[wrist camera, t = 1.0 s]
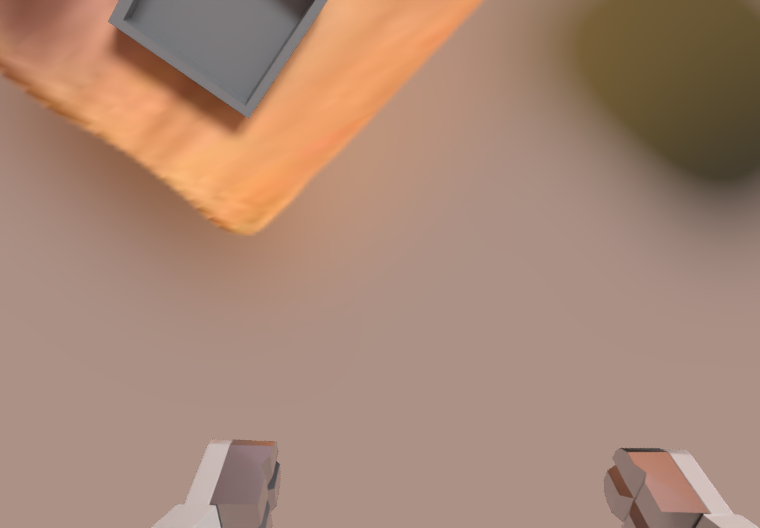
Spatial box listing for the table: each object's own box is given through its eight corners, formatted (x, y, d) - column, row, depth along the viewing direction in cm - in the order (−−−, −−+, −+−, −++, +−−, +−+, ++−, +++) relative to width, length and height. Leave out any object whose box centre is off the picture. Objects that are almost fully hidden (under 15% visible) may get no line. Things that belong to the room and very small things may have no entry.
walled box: (118, 18, 38) (108, 21, 36) (193, -126, 35) (187, -134, 32) (249, 110, 44) (248, 118, 42) (325, -4, 41) (329, -3, 38)
